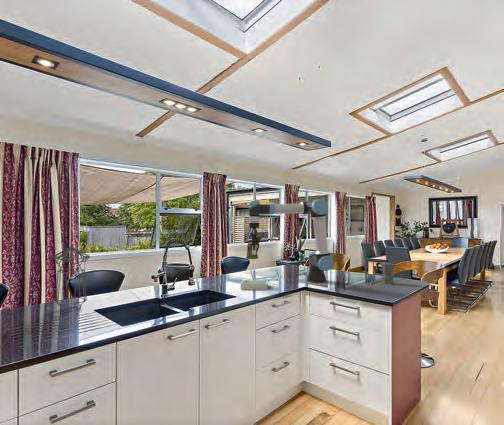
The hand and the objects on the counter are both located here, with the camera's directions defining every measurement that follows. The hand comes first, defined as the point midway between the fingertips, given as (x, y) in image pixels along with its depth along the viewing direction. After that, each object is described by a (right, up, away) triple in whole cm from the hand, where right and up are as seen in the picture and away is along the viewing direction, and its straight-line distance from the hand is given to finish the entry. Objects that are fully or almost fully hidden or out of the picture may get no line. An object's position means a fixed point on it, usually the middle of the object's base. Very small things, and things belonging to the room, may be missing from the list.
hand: (254, 253), depth 234 cm
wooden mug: (0, -4, +1) cm, 4 cm away
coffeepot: (+101, -24, +12) cm, 105 cm away
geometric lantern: (-103, -24, -55) cm, 119 cm away
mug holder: (0, -25, 0) cm, 25 cm away
